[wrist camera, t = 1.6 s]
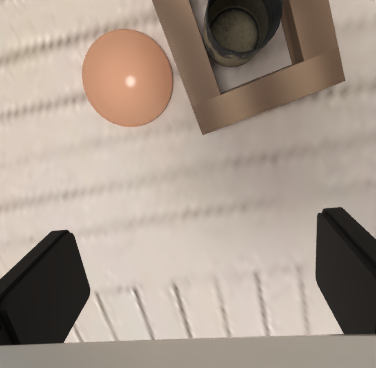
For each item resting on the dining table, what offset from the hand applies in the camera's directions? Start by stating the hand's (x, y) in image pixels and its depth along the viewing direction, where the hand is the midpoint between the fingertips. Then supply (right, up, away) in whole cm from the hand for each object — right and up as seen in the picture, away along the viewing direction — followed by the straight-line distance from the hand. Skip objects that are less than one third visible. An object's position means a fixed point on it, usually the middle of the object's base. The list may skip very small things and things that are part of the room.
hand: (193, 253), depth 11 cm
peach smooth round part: (-7, +14, +20) cm, 26 cm away
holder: (+5, +18, +18) cm, 26 cm away
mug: (+5, +18, +18) cm, 26 cm away
